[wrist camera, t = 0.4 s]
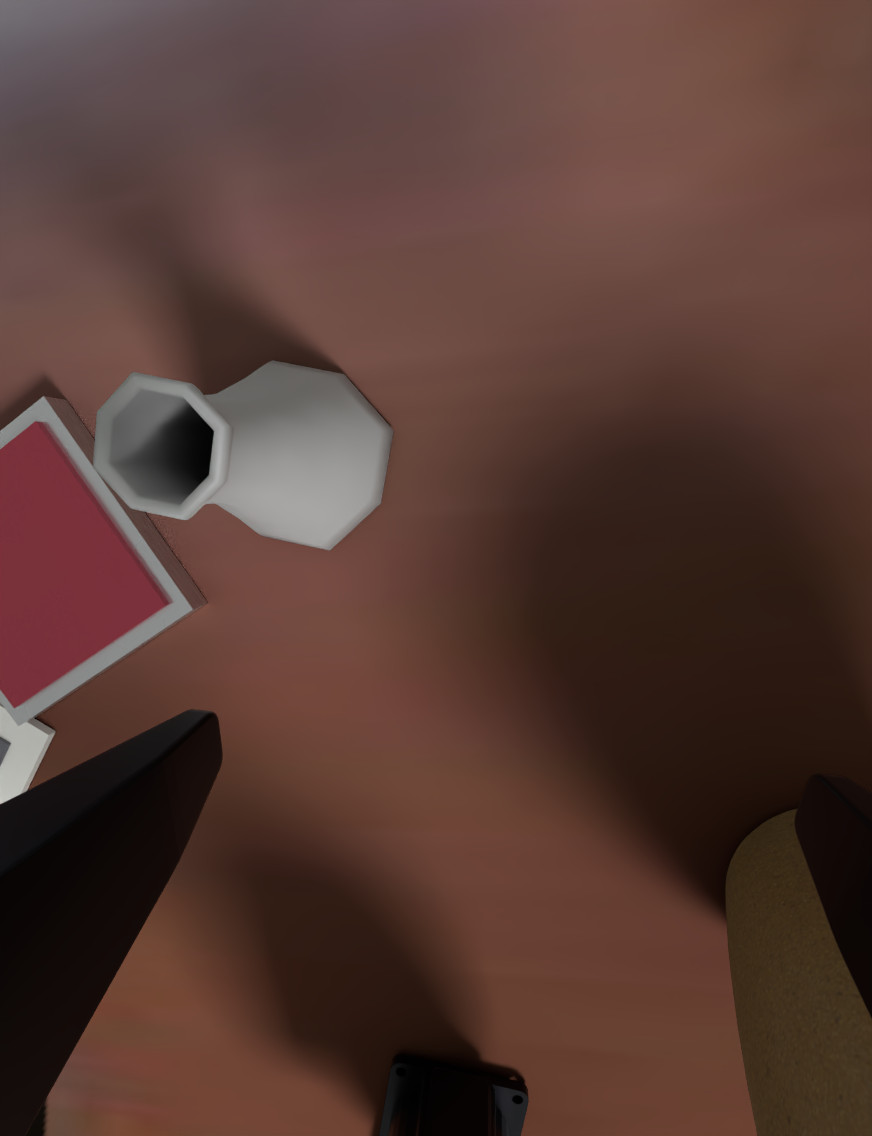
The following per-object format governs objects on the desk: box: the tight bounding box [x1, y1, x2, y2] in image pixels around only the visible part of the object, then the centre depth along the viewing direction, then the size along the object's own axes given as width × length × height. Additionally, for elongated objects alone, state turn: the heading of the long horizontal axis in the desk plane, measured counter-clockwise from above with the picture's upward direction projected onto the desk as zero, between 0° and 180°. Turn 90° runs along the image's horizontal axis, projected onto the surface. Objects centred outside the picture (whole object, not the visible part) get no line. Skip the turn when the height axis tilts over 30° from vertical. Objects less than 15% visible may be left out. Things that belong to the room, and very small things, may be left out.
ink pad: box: [0, 396, 208, 726], centre depth 23 cm, size 10×10×2 cm
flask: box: [93, 360, 394, 550], centre depth 17 cm, size 7×7×10 cm
